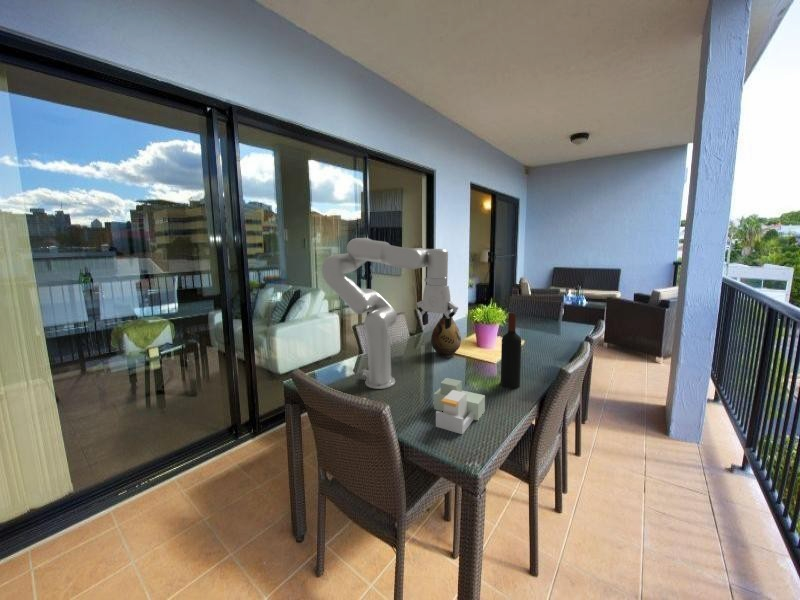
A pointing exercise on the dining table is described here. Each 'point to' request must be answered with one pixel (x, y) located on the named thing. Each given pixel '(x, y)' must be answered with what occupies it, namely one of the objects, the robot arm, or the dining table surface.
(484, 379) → the dining table surface
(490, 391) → the dining table surface
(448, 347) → the ceramic jug
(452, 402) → the orange-topped white box
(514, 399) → the dining table surface
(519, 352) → the wine bottle
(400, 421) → the dining table surface
